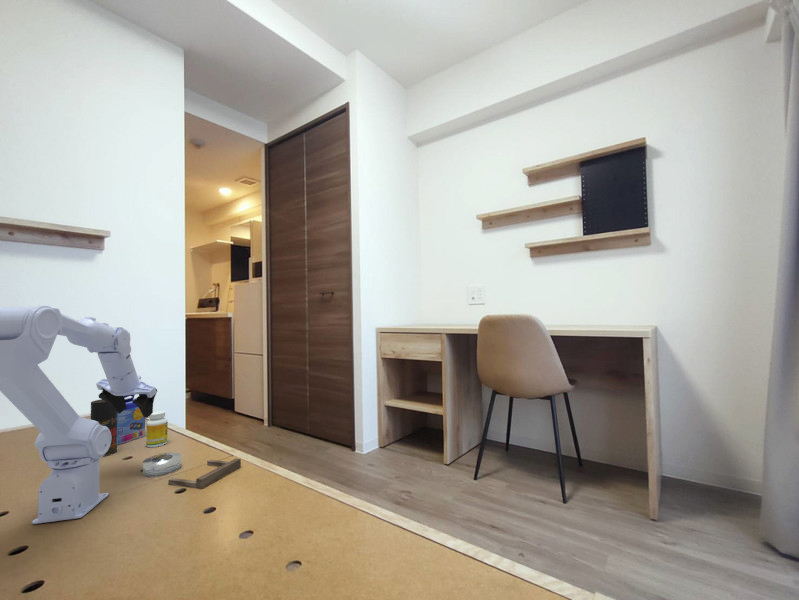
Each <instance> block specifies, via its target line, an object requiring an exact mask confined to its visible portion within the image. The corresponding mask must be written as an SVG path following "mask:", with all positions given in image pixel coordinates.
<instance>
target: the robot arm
mask: <svg viewBox="0 0 799 600" xmlns="http://www.w3.org/2000/svg"><path fill="white" fill-rule="evenodd" d="M96 319H97V318H96V317H93V316H90V317H89V316H88V317H86V316H85V317H84V318H79V319H75V318H72V317H70V316H68V315H66V314H63V313H62V312H61V311H60V309H59V308H56V307H51V306H50V305H38V306H5V307H4V306H3V307H2V306H0V392H1V394H3V396H5V398H6V399H7V400H8V401H9V402H10V403H11V404H12V405H13V406H14V407H15V408H16V409H17V410H18V411H19V412H20V413H21V414H22V415H23V417H25V418H26V419H27V420H28V421H29V422H30V423H31V424H32V425H33V426H34V427H35V428H36V429H37V430H38V431H39V434H38V435H37V437H36V439H35V441H34V446H35V447H36V449H37V450H38V454H39V457H40V459H41V460H42V462H44V463H47V465H46V467H47V468H51V471H50V473H49V475H48V476H47V477H46V478H44V480H43V481H42V482H41V483H40V485H39V488H38V499H37V503H38V504H37V505H38V506H37V517H36V518H35V519H33V520H31V524H32V525H37V524H43V523H51V522H58V521H65V520H67V521H68V520H75V519H80V518H83V517H84V516H85V515H87V514H88V513H90V512H91V510H93V509H94V508H95V507H97V505H99V503H101V502H102V501H103V500H104V499H106V498H107V497H108V496H109V492H102V493H100V468H101V467H100V466H101V465H100V463H101V462H100V460H101V458H104V457H105V456H104V454H105V453H106V452H107V451H108V449H109V447H110V444H111V438H112V437H111V432H110V430H109V429H108V427H106V426H102V425H100V424H99V422H97V421H94V420H91V418H87V417H82V416H80V415H79V414H78V413H77V412H76V410H75V409H74V408H73V406H71V404H70V403H69V402H68V401H67V399H66V398H65V397H64V395H62V393H61V391H59V390H58V388H57V387H56V386H55V384H54V383H53V382H52V381H51V380H50V378H49V377H48V376H47V374H45V372H44V370H42V369H41V367H40V366H39V364H41V363H42V362H45V361H47V360H48V359H49V356H50V353H51V351H52V349H53V345H54V343H55V341H56V339H57V336H63V337H66V338H67V340H68V342H69V343H70V344H72V345H74V346H79V347H83V348H85V349H87V351H88V352H89V353H91V354H92V353H97V357H98V359H99V361H100V364H101V367H102V370H103V372H104V374H105V377H106V378H102V379H101V380H99V381H98V382H96V383H95V385H96V388H97V390H98V391H101V392H100V393H99V394H98V395H97V396H98V399H99V400H101V399H102V400H104V401H106V402H107V403H108V404H109V405H110V406H111V407H112V408H113V409H114V410H115V411H116V412H117V413H121V412H122V411H123V410H125V409H126V402H125V399H126V398H125V399H124V396H125V395H135V396H137V395H138V396H137V397H136V398H134V399H135V400H133V401H132V402H133V403H134V404H136V405H137V406H138V407H139V409H140V410H141V413H142V415H143V416H144V417H145V419H148V418H149V416H150V415H151V414H152V413H153V412H154V401H155V397H156V396H157V392H158V389H157V388H156V386H153V385H150V384H148V383H147V382H145V381H143V380H142V376H141V375H138V374H137V373H138V372H137V371H136V367H135V365H134V361H133V359H132V356H131V353H132V346H131V333H130V332H129V331H128V330H127V329H125V328H123V327H116V326H115V327H113V326H110V325H109V323H107V322H100V321H99V322H98V321H96ZM103 456H104V457H103Z"/></svg>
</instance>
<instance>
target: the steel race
mask: <svg viewBox="0 0 799 600" xmlns="http://www.w3.org/2000/svg"><path fill="white" fill-rule="evenodd" d="M180 467H181V468H182V454H181V453H180V452H176V451H175V452H172V451H171V452H164V453H158V454H155V455H152V456H150V457H146V459H144V460H143V461H142V476H143V477H145V476H146V477H147V478H155V477H156V476H157V477H162V476H167V475H169V473H170V474H172V473H175V472H177V471H179V470H180V469H181V468H180ZM176 470H177V471H176Z"/></svg>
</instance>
